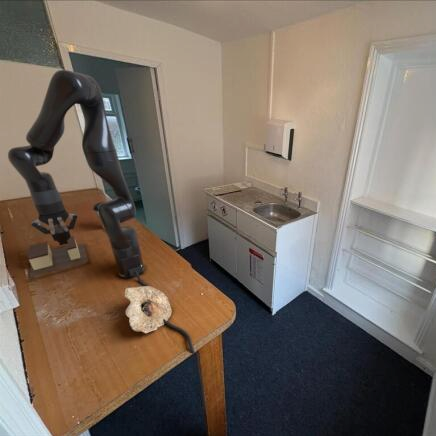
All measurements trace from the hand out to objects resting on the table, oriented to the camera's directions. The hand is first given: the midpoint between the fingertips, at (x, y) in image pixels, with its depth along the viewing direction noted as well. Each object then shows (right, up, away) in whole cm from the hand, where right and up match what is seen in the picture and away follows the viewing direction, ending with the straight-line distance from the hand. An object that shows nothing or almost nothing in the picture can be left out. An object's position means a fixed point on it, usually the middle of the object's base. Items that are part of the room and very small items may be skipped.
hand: (63, 239), depth 95 cm
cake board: (-11, -10, +10) cm, 18 cm away
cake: (-15, -10, +6) cm, 19 cm away
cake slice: (-8, -7, +13) cm, 17 cm away
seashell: (+44, -26, -14) cm, 53 cm away
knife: (-4, +2, +4) cm, 6 cm away
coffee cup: (-11, +3, +39) cm, 40 cm away
